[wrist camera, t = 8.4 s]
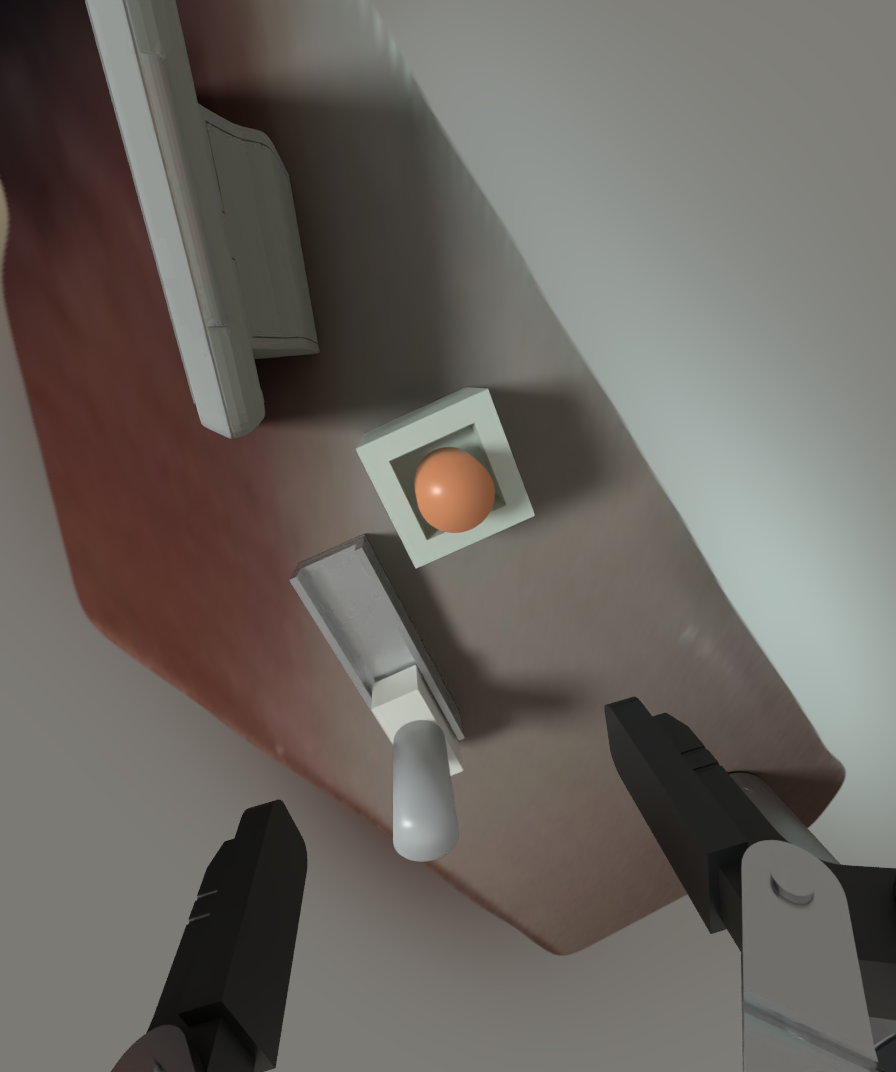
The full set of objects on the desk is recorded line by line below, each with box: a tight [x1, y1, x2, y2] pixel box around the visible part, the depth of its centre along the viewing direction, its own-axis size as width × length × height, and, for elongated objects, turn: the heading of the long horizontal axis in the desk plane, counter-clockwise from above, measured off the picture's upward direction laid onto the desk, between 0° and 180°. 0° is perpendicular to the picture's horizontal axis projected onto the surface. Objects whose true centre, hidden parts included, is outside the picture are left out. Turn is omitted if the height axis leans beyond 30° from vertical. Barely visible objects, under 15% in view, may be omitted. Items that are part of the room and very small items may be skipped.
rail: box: [290, 534, 465, 745], centre depth 32 cm, size 17×5×3 cm, turn 23°
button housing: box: [356, 387, 535, 568], centre depth 26 cm, size 7×7×7 cm
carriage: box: [371, 665, 463, 861], centre depth 29 cm, size 8×4×10 cm, turn 23°
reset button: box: [414, 447, 495, 533], centre depth 22 cm, size 4×4×3 cm
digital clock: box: [85, 0, 319, 438], centre depth 20 cm, size 16×9×11 cm, turn 174°
